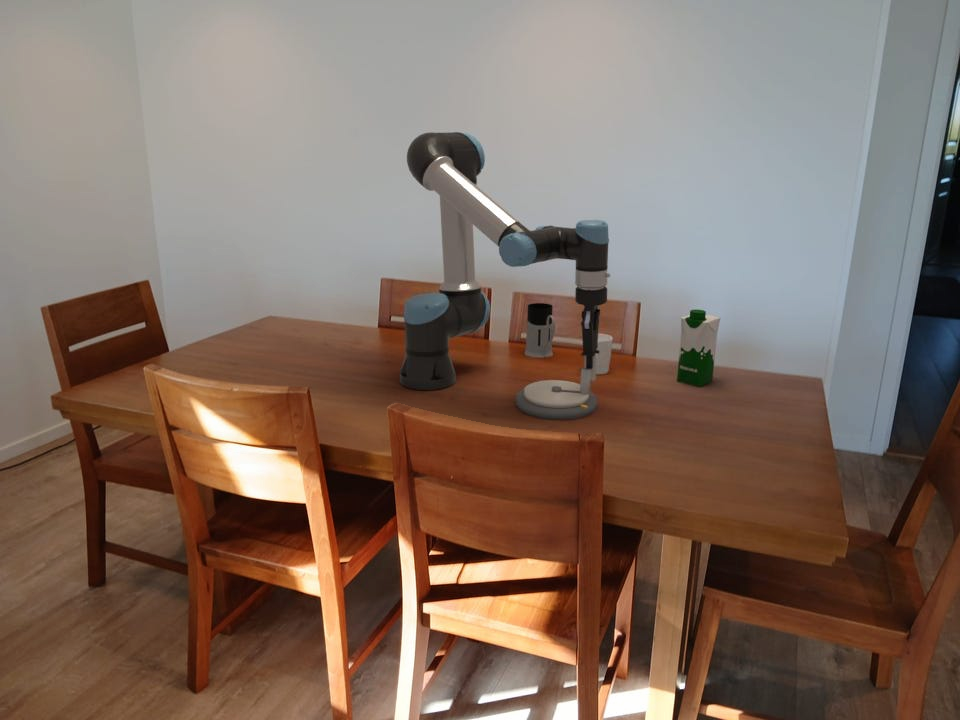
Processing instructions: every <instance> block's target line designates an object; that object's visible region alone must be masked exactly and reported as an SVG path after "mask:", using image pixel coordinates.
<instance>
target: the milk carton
mask: <svg viewBox="0 0 960 720" xmlns="http://www.w3.org/2000/svg"><path fill="white" fill-rule="evenodd" d="M720 321H721V317H719V316H715V315H714V316H713V315H708V314H707V311H706V310H703V309H690V310H689V314H687V315H684V316H682V317H680V323H681V325H680V326H681V327H680V328H681V329H680V331H681V332H680V342H679V353H678V364H677V374H676V375H677V376H676V378H677V379H676V381H677V382H678V383H679V382H680V383H684V384H688V385H692V386H696V387H699V388H701V387H703V386H705V385H707V384H708V383H710V382H712V381H713V377H714V369H715V368H714V367H715V366H714V365H715V357H716V348H717V340H718V339H717V338H718V333H719V327H720Z"/></svg>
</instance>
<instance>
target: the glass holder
mask: <svg viewBox="0 0 960 720" xmlns="http://www.w3.org/2000/svg"><path fill="white" fill-rule="evenodd" d="M553 307H554V306H553V304H550V303H543V302H537V303H536V302H534V303H529V304H527V317H526V337H525V345H526V346H525V351H524V355H525V356H527V357H529V356H530V358H538V359H543V358H544V357H545V358H550V357H552V356H553V355H554V353H553V340H554V336H555V332H556V331H555V330H556V320H555V318H554V316H553Z"/></svg>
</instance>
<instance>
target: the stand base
mask: <svg viewBox="0 0 960 720" xmlns="http://www.w3.org/2000/svg"><path fill="white" fill-rule="evenodd" d="M524 389H525V387H524V388H522V389H520V390H519V391H518V392H517V393H516V395H515V407H516V408H517V409H518V410H519V411H520V412H522V413H524V414H526V415H528V416H530V417H535V418H539V419H543V420H544V419H545V420H556V421H566V420H568V421H569V420H577V419H581V418H584V417H588V416H589V415H592V414H593V413H594V412H596V410H597V405H598V398H597V395H596V394H594V393H593V392H592V391H590V394H589V399H588V401H587V402H586V403H584V404H582V405H580V406H576V407H570V408H550V407H543V406H539V405H535V404H533V403H530V402H529V401H527V400H526V399H525V397H524Z"/></svg>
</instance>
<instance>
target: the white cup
mask: <svg viewBox="0 0 960 720" xmlns="http://www.w3.org/2000/svg"><path fill="white" fill-rule="evenodd" d="M612 345H613V336H612V335H609V334H605V333H598V348H597V349H596V350H599V354H597V353H595V354H596V375H605V374H607V373H609V370H610V369H609V367H610V364H611V363H610V362H611V356H612V348H613V347H612Z"/></svg>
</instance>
